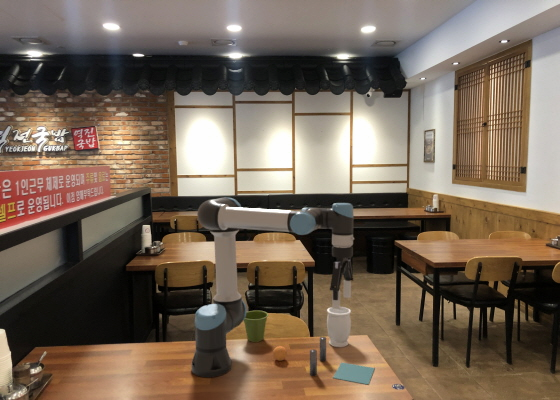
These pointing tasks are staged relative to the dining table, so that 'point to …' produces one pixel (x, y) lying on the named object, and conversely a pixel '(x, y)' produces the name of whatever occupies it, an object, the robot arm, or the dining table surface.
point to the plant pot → (255, 325)
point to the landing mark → (354, 373)
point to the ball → (279, 353)
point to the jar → (338, 326)
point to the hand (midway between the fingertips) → (341, 302)
